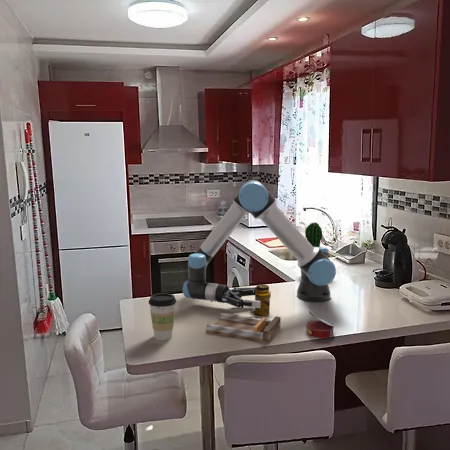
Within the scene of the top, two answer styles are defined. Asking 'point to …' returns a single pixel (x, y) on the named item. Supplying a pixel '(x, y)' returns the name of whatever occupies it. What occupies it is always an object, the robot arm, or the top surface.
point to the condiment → (262, 301)
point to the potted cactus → (313, 234)
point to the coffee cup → (162, 315)
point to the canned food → (319, 328)
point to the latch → (260, 325)
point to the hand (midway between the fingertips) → (265, 299)
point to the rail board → (244, 328)
